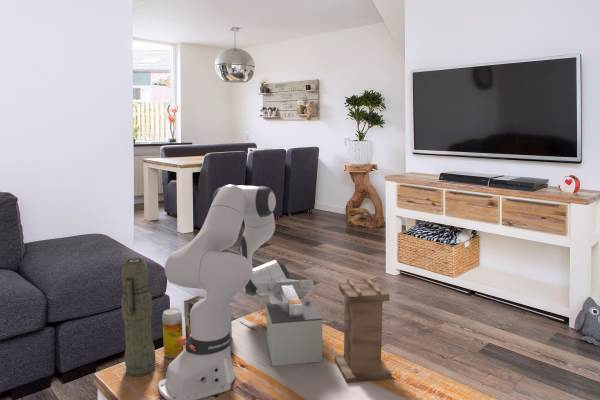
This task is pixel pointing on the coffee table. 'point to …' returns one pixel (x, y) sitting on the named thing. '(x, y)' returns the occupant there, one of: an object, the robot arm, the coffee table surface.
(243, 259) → the robot arm
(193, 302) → the coffee box
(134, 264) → the thermos
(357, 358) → the stand
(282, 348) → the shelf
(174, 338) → the beer can
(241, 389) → the coffee table surface
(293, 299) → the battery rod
